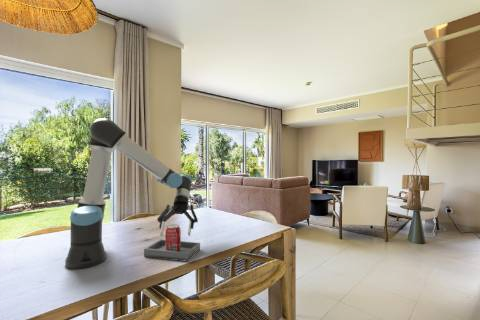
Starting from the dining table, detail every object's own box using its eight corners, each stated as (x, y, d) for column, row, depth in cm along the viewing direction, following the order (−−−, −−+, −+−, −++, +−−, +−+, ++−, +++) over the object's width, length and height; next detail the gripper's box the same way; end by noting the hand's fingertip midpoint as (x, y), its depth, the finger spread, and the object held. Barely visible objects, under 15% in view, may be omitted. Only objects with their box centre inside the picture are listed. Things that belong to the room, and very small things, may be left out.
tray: (144, 256, 111) (144, 248, 111) (160, 246, 125) (160, 239, 125) (187, 261, 106) (187, 253, 106) (200, 249, 120) (200, 242, 120)
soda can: (174, 247, 121) (175, 223, 121) (183, 250, 116) (183, 225, 116) (162, 251, 115) (162, 226, 115) (170, 255, 111) (171, 229, 111)
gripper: (205, 202, 135) (201, 238, 120) (160, 202, 134) (151, 238, 120) (203, 194, 130) (199, 230, 115) (157, 194, 129) (147, 230, 114)
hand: (174, 234), depth 117 cm, fingers open, 13 cm apart
